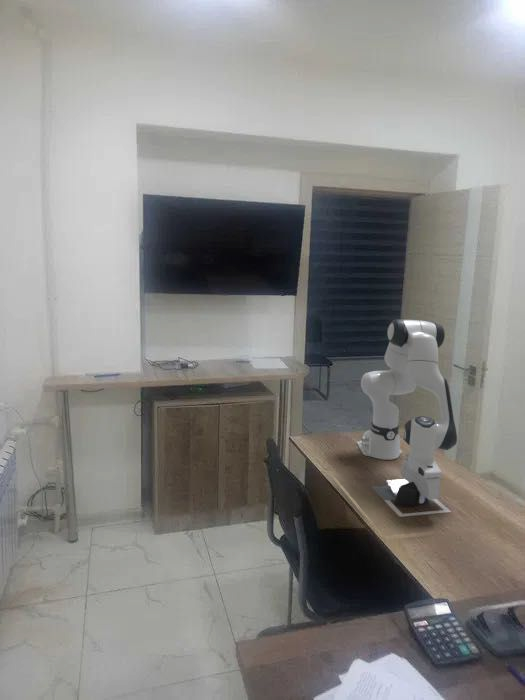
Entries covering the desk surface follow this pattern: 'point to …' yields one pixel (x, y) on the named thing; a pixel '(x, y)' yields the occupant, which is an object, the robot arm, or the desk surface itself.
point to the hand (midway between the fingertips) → (417, 499)
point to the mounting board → (387, 496)
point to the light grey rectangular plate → (395, 485)
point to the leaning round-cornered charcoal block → (408, 495)
